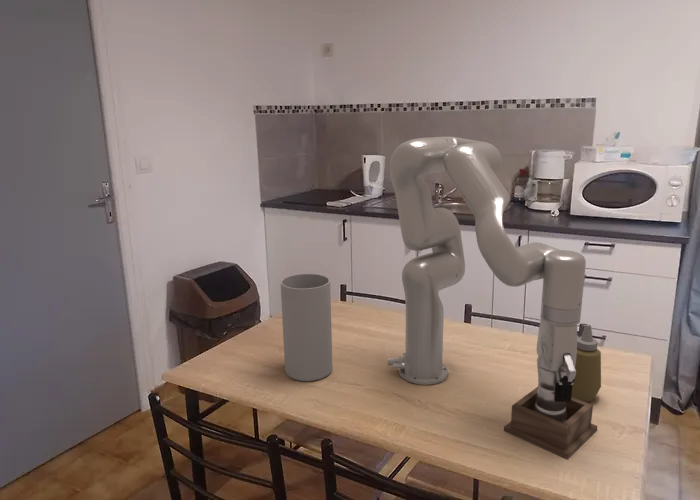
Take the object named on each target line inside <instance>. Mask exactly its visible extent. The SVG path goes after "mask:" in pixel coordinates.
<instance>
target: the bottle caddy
mask: <svg viewBox="0 0 700 500" xmlns="http://www.w3.org/2000/svg"><path fill="white" fill-rule="evenodd" d="M537 393H538V386H537V387H535V388H534V389H532V390H531V391H530V392H528V393H527V394H525V395H524V396H523V397H522V398H520V399H519V400H517V401H516V402H515V403H513V404H512V405H511V413H510V415H511V416H510V417H511V418H510V421H509V422H508V423H507V424H505V425H504V426H503V431H504V432H505V433H508V434H510V435H512V436H515V437H517V438H519V439H521V440H523V441H526V442H528V443H531V444H533V445H534V446H537V447H539V448H541V449H543V450H546V451H548V452H550V453H552V454H554V455H556V456H560V457H561V458H564V459H567V460H569V458H570V457H571V456H573V455H574V454H575V453H576V451H578V450H579V449H580V448H581V447H582V446H583V444H584V443H586V441H587V440H589V439H590V438H591V437H592V436H593V434H594V433H596V432H597V430H598V425H597V424H594V423H592V418H593V409H594V404H592V403H589V402H584V401H581V400H578V399H576V398H573V397H571V401H570V402H565V406H566V411H567V418H566V421H565V423H563V422H560V421H558V420H555V419H553V418H550V417H548V416H545V415H543V414H540V413H538V412H535V411H533V410H534V406H535V403H536V399H537Z"/></svg>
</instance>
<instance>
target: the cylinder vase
mask: <svg viewBox="0 0 700 500" xmlns="http://www.w3.org/2000/svg"><path fill="white" fill-rule="evenodd" d="M280 296H281V297H280V299H281V318H282V321H281V322H282V336H283V337H282V339H283V354H284V355H283V357H284V372H285V374H286V375H287V376H288V377H289V378H291V379H293V380H295V381H299V382H312V381H313V382H315V381H319V380H322V379H324V378H326V377H327V376H329V375H330V374H331V372H332V371H333V341H332V339H333V337H332V335H333V334H332V333H333V332H332V304H331V303H332V301H331V300H332V298H331V297H332V295H331V279H330V277H328V276H326V275H323V274H319V273H298V274H293V275H288V276H286V277H284V278H282V279H281V280H280Z"/></svg>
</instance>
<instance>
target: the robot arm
mask: <svg viewBox="0 0 700 500" xmlns="http://www.w3.org/2000/svg"><path fill="white" fill-rule="evenodd" d="M502 166H503V159H502V155H501V152H500V151H499V149H498V148H497V147H496V146H495V145H493V144H491V143H489V142H487V141H482V140H481V141H480V140H474V139H467V138H462V137H456V136H447V135H446V136H434V137H430V136H429V137H420V138H419V137H418V138H413V139H409V140H407V141H405V142H403V143H401V144H399V145H398V146H397V147H396V148H395V149H394V151H393V153H392V155H391V157H390V162H389V176H390V180H391V183H392V188H393V190H394V195H395V198H396V206H397V214H398V219H399V225H400V232H401V233H400V234H401V238H402V241H403V243H404V245H405V247H406V248H407V249H408V250H411V251H412V252H413V251H415V252H420V251H424V250H428V249H431V251H432V252H430V253H425V254H422V255H419V256H417V257H416V256H415V257H414V258H411V259H410V260H409V261H407V263H405V265H404V266H403V268H402V272H401V281H402V287H403V291H404V298H405V299H404V301H405V303H404V304H405V350H404V352H403V353H402V354H403V356H399V357H387V366H392V369H393V370H394V369H398V370H399V371H398V372H399V375H400V377H401V378H402V379H403V380H405V381H407V382H409V383H412V384H415V385H424V386H425V385H426V386H427V385H428V386H429V385H434V384H439V383H441V382H444V381H445V380H446V379H447V378H448V376H449V369H448V367H447V365H445V364H444V363H443V352H444V350H443V349H444V347H443V346H444V313H445V311H444V305H443V302H442V300H441V298H440V296H439V292H440V291H441V290H444V289H447V288H449V287H452V286H455V285H457V284H458V283H460V282H461V281H462V280H463V277H464V276H465V272H466V262H465V261H466V260H465V254H464V245H463V239H462V232H461V227H460V224H459V220H458V219H457V217H456V215H455V214H454V213H453V212H452V210H450V209H448V208H445V207H434V206H433V200H432V199H433V198H432V193H431V190H430V188H429V186H428V184H427V182H426V181H425V180H424V178H423V176H424V175H430V174H437V173H438V174H439V173H445V172H446V174H447V176H448V177H449V179H450V181H451V182H452V184H453V185H454V186H455V188H456V190H457V191H458V193H459V194H460V196H461V198H462V199H463V201H464V202H465V204H466V205H467V207H468V209H469V210H470V212H471V213H472V214H473V216H474V219H475V226H474V227H475V236H476V237H475V238H476V243H477V247H478V250H479V252H480V254H481V256H482V257H483V259H484V261H485V263H486V264H487V265H488V267H489V269H490V270H491V272H492V273H493V274H494V276H495V277H496V278H497V279H498V280H499V281H500V282H501V283H502V284H504V285H506V286H508V287H515V288H517V287H521V286H524V285H527V284H529V283H531V282H533V281H537V280H542V289H541V291H542V293H541V303H540V304H541V306H540V320H539V321H540V322H539V327H538V328H539V329H538V334H537V341H536V355H538V356H539V354H540V353H541V354H542V355H543V358H544V364H545V366H546V367H547V368H548V369H549V370H550V371H551V372H554V371H556V376H557V382H558V383H555V394H554V400H555V402H570V401H571V396H572V385H573V384H574V380H575V376H576V370H575V364H576V354H577V338H578V324H580V322H581V316H582V306H583V305H582V304H583V297H584V283H585V275H586V264H587V263H586V258H585V256H584V255H583V254H582V253H580V252H577V251H573V250H569V249H568V250H565V249H564V250H563V249H559V248H556V247H554V246H551V245H548V244H546V243H543V242H535V241H534V242H530V243H527V244H524V245H520V246H517V247H516V246H515V245H514V244H513V242H512V240H511V239H510V238H509V236H508V234H507V232H506V229H505V227H504V221H503V216H504V212H505V209H506V207H507V206H508V205H509V204H510V200H511V198H510V197H511V196H510V194H509V192H508V191H507V189H506V188H505V186H504V185H503V184H502V182H501V181H500V179H499V178H498V176H497V174H499V173H500V171H501V169H502ZM538 356H537V357H538ZM560 366H565V368H560ZM564 372H566V376H564V377H563V378H562V377H561V373H564Z"/></svg>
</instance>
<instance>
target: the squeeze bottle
mask: <svg viewBox="0 0 700 500" xmlns="http://www.w3.org/2000/svg"><path fill="white" fill-rule="evenodd" d="M598 342H599V341H598V340H597V339H595V338H593V330H592V325H590V324H585V326H584V328H583V331H582V334H581V336H577V354H576V364H575V370H576V376H575V380H574V384H573V385H572V396H571V397H573V398H576V399H578V400H581V401H584V402H587V403H589V402H593V401H594V400H595V399H596V397H597V395H598V393H599V392H600V389H601V388H602V355H601V354H602V352H601V351H600V349H598Z"/></svg>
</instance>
